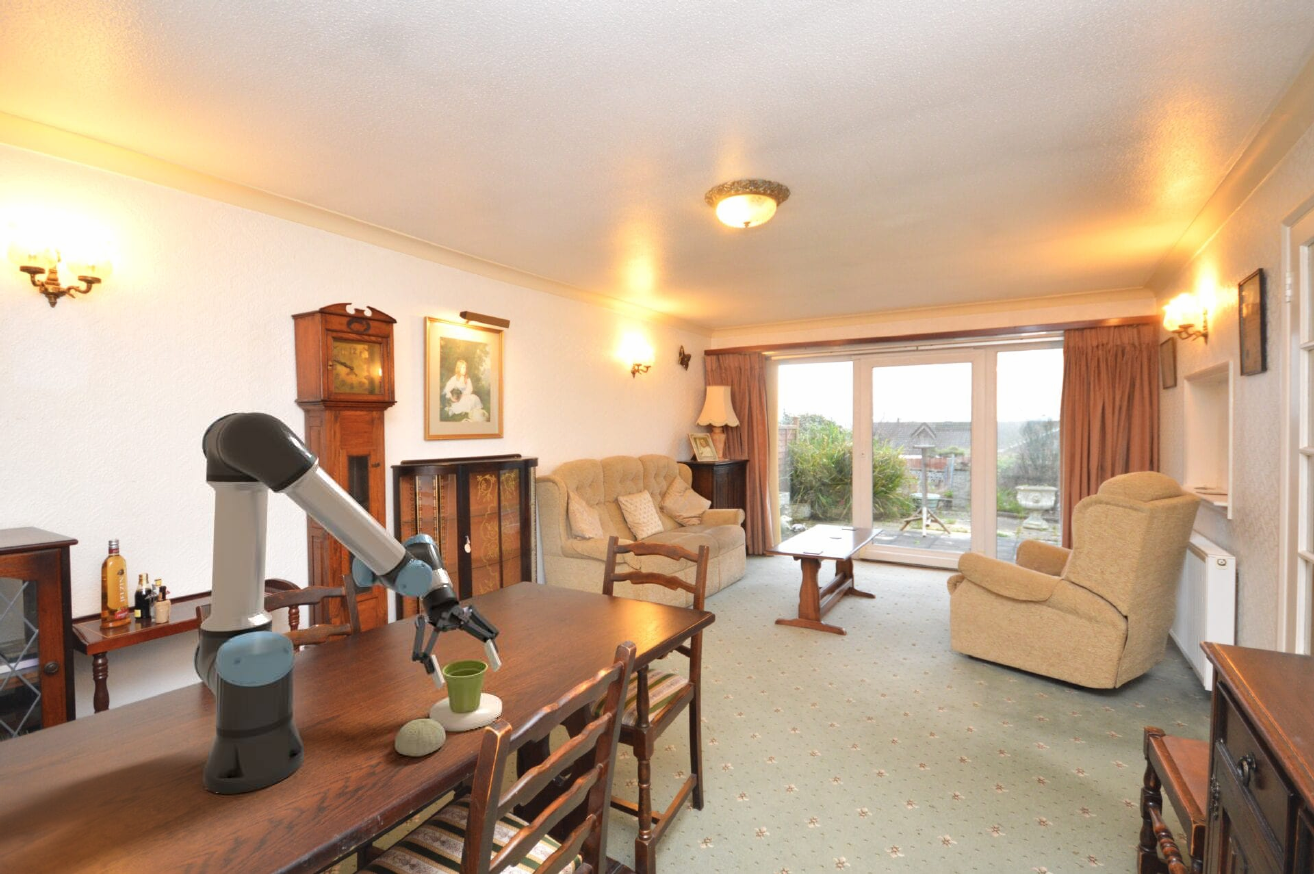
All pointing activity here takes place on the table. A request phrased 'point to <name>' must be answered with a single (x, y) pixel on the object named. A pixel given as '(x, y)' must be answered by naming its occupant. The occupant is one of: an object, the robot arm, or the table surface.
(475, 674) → the plant pot
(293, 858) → the table surface
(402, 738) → the sea urchin shell
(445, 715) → the white flat rounded piece
